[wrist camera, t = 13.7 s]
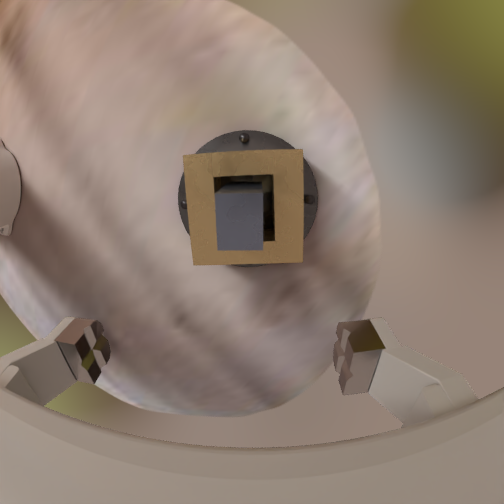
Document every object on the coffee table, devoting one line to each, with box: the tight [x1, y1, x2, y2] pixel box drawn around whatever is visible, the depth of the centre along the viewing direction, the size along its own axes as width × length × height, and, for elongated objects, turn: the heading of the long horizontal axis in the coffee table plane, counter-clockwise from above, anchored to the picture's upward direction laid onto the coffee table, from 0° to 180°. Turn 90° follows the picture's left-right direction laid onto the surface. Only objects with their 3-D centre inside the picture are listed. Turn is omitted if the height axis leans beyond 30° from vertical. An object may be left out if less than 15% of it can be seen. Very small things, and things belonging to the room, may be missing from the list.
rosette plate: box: [178, 130, 318, 267], centre depth 31 cm, size 17×17×6 cm
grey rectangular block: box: [215, 181, 263, 251], centre depth 28 cm, size 4×5×10 cm
